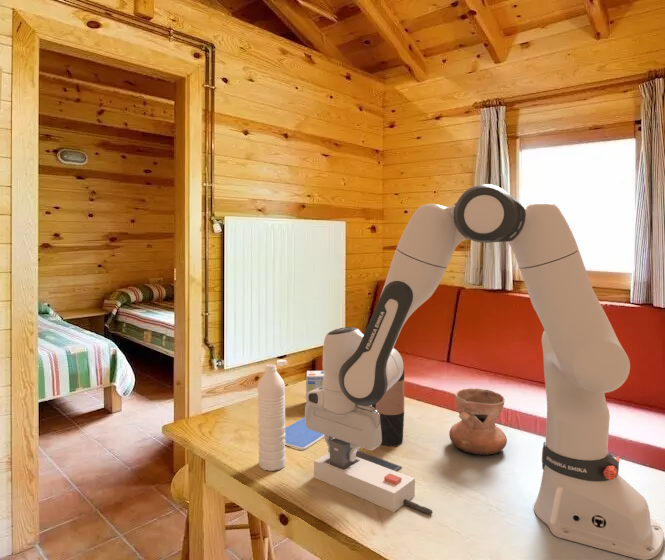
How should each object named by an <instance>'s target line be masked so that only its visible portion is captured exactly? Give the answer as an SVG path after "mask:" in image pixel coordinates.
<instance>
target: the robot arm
mask: <svg viewBox="0 0 665 560" xmlns="http://www.w3.org/2000/svg"><path fill="white" fill-rule="evenodd" d="M466 240H470V241H473V242H476V243H483V244H484V243H485V244H487V243H488V244H489V243H508V245H509V246H510V248H511V250H512V251H513V254H514V257H515V260H516V263H517V265H518V267H519V268H518V269H519V271H520V274H521V277H522V279H523V283H524V285H525V288H526V291H527V293H528V294H527V295H528V297H529V300H530V303H531V305H532V307H533V309H534V311H535V313H536V315H537V317H538V319H539V321H540V323H541V324H542V327H543V332H542V335H541V346H542V355H543V356H542V357H543V373H544V374H543V375H544V384H545V385H544V386H545V395H546V423H545V424H546V425H545V426H546V429H545V430H546V431H545V441H543V445H542V451H541V463H542V464H541V466H542V467H541V469H542V476H541V477H542V478H541V482H540V487H539V489H538V490H539V491H538V493H537V497H536V499H535V502H534V504H533V510H534V513H535V515H536V516H537V517H538V518H539V519H540V520H541V521H542V522H543V523H544V524H546V526H547V527H548V529H549V530H550V532H551V533H552V534H553V536H555V537H557V538H559V539H560V538H561V539H563V540H564V539H565V540H568V541H571V542H574V543H579V544H582V545H585V546H589V547H593V548H596V549H600V550H604V551H608V552H611V553H614V554H619V555H622V556H627V557H629V558H633V559H637V560H650V559H653V558H655V557H656V556H658V555H659V554H660V552H661V551H662V549H663V547H664V544H665V535H664V529H663V527H662V526H661V525H660V524H659V522H658V521H656V520H654V519H652V518H651V513H650V507H649V505H648V502H647V500H646V498H645V497H644V496H643V494H641V493H640V492H639V491H638V490H637V489H635V487H633V486H632V485H631V484H630V483H629V482H627V481H626V480H625V479H624V478H623V477H622V476H621V475H620V474H619V472H620V471H619V469H620V466H619V464H620V456H619V455H617V456H616V458H615V457H614V456H613V455H612V454H611V453H610V452H609V451H608V448H609V447H608V446H609V431H610V418H611V417H610V410H609V406H608V405H607V400H606V395H605V394H606V393H611V392H614V391H615V390H617V389H618V390H619V388H620V387H621V386H622V385H624V383H626V380H627V379H628V377H629V375H630V370H631V363H630V362H631V361H630V358H629V356H628V353H626V351H625V348H623V346H622V344H621V342H620V340H619V339H618V336H617V335H616V332H615V330H614V328H613V326H612V323H611V322H610V320H609V318H608V316H607V314H606V312H605V310H604V308H603V306H602V304H601V302H600V301H599V299H598V297H597V294H596V293H595V291H594V289H593V286H592V284H591V281H590V278H589V275H588V272H587V269H586V266H585V263H584V261H583V258H582V255H581V252H580V250H579V245H578V244H577V241H576V239H575V236H574V234H573V232H572V229H571V228H570V225H569V224H568V221H567V220H566V218H565V216H564V215H563V213H562V211H561V210H560V208H559V207H558V206H557V205H556V204H554V203H552V202H550V201H545V200H543V201H534V202H529V203H527V204H521V202H519V201H518V200H516V199H515V198H514V197H513V196H512V195H511V194H509V192H507V191H506V190H505V189H503V188H502V187H499V186H497V185H494V184H490V183H488V184H487V183H486V184H485V183H481V184H477V185H474V186H472V187H470V188H468V189H467V190H465V191H464V192H463V193H462V194H461V195H460V197H459V198H458V199H457V201H456V202H455V203H454V204H453V205H452V206H445V205H441V204H437V203H427V204H422V205H421V206H419V207H417V208H416V210H415V211H414V213H413V214H412V216H411V217H410V219H409V221H408V223H407V224H406V226H405V228H404V230H403V232H402V234H401V237H400V238H399V241H398V243H397V246H396V249H395V251H394V254H393V257H392V261H391V263H390V266H389V268H388V269H389V270H388V272H387V275H386V280H385V281H384V284H383V287H382V289H381V293H380V296H379V299H378V302H377V304H376V307H375V308H374V310H373V314H371V318H370V320H369V322H368V324H367V327H366V329H365V332H364V333H362V331H361V330H360V329H359V328H357V327H354V326H346V327H340V328H336V329H333V330H331V331H329V332H328V333H327V334H326V335H325V336H324V340H323V346H322V363H321V364H322V371H324V380H323V387H320V388H317V389H314V390H312V391H309V392H307V393H305V400H306V403H305V407H304V417H305V424H306V426H307V428H308V429H311V430H313V431H316V432H319V433H322V434H324V437H323V438H324V440H325V443H326V445H327V447H328V448H327V449H328V451H327V452H328V453H330V440H332V439H334V438H336V439H339V440H342V441H345V442H348V443H350V447H351V448H352V449H351V451H349V452H347V453H346V456H347V457H346V459H347V460H349V461H352V462H353V461H355V460H356V452H357V451H359V449H360V448H363V449H365V450H368V451H374V450H375V449H377V448H379V447H380V446H382V445H381V443H382V433H381V425H380V414H379V413H378V412H377V410H375V408H374V407H372V405H374V404H376V403H377V402H379V401H380V399H381V398H382V397H383V396H384V394H385V393H386V392H387V391H388V390H389V389H390V388H391V387H392V386H393V385H394V384H395V383H396V382H397V381H398V380H399V379H400V378H401V376H402V374H403V371H404V372H405V363H404V358H403V356H402V355H401V353H400V351H398V350H397V349H396V348H395V345H396V343H397V340H398V338H399V337H400V334H401V331H402V329H403V328H404V325H405V324H406V322H407V321H408V320H409V318H410V317H411V316H412V315H413V313H414V312H416V311H417V310H418V308H420V307H421V306H422V305H423V304H424V303H426V301H429V299H430V298H431V297H432V296H433V294H434V293H435V291H436V290H437V288H438V287H439V285H440V283H441V282H442V279H443V278H444V276H445V274H446V272H447V269H448V266H449V264H450V261H451V259H452V256H453V254H454V252H455V250H456V248H457V247H458V246H459V244H460V243H462V242H463V241H466ZM307 401H308V402H307ZM374 411H375V412H374Z"/></svg>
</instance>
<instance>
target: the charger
mask: <svg viewBox="0 0 665 560" xmlns="http://www.w3.org/2000/svg"><path fill="white" fill-rule="evenodd" d="M351 449H352V448H351V447H350V443H348V442H345V441H342V440H339V439H336V438H333V439H332V440H330V465H332V466H335V467H337V468H340V469H342V470H345V469H346V468H348V467H350V466H352V465H353V464H354V461H353V462H352V461H349V460H347V459H346V457H347V456H346V453H347V452H349V451H351Z"/></svg>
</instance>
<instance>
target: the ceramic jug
mask: <svg viewBox="0 0 665 560" xmlns="http://www.w3.org/2000/svg"><path fill="white" fill-rule="evenodd" d="M454 397H455V404H456V407H457V412H458V414H459V419H460V421H458V422H456V423H455V424H453V425H451V427H450V430H449V431H448V433H449V435H448V436H449V439H450V441H451V443H452V444H453V445H454V446H455V447H457V448H458V449H459V450H461V451H464V452H465V453H466V452H467V453H469V454H473V455H474V454H475V455H493V454H496V453H499V452H501V451H502V450H503V449H504V448H505V447H506V445H507V444H508V443H507V442H508V438H507V435H506V434H505V432H504V431H503V430H502V429H501V428H500V427H498V426H497V425H496V423H497V421H498V419H499V417H500V415H501V413H502V411H503V409H504V404H505V402H506V400H505V397H504V396H503V395H502V394H500V393H498V392H495V391H493V390H489V389H483V388H471V387H470V388H463V389H459V390H457V391H456V392H455V396H454Z"/></svg>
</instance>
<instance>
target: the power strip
mask: <svg viewBox="0 0 665 560" xmlns="http://www.w3.org/2000/svg"><path fill="white" fill-rule="evenodd" d="M313 469H314V470H313V478H314V479H317V480H319V481H322V482H324V483H326V484H328V485H330V486H332V487H336V488H337V489H340V490H342V491H345V492H347V493H350V494H352V495H354V496H356V497H358V498H360V499H363V500H366V501H368V502H371V503H372V504H375V505H377V506H379V507H382V508H384V509H386V510H388V511H391V512H393V513H394V512H396V511H397V510H399V509H400V508H402V506H404V505H406V506H408V507H411V508H413V509H415V510H417V511H420V512H422V513H425V514H427V515H430V516H432V515H433V510H432V509H431V508H428V507H426V506H423V505H421V504H418V503H416V502H413V501H411V499H413V498H414V497H416V495H415V494H416V491H415V489H416V487H415V486H416V478H415V477H413V476H409V475H407V474H404V473H401V472H400V471H397V472H396V471H394V470H391V469H388V468H386V467H383V466H380V465H378V464H375V463H372V462H369V461H367V460H364V459H361V458H359V457H356V460H355V461H354V464H353V465H352V466H350V467H348V468H346V469H345V470H342V469H340V468H337V467H335V466H332V465H330V453H329V452H328V453H326V454H324V455H322V456H320V457H318V458H317V459H315V460H314V461H313Z"/></svg>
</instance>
